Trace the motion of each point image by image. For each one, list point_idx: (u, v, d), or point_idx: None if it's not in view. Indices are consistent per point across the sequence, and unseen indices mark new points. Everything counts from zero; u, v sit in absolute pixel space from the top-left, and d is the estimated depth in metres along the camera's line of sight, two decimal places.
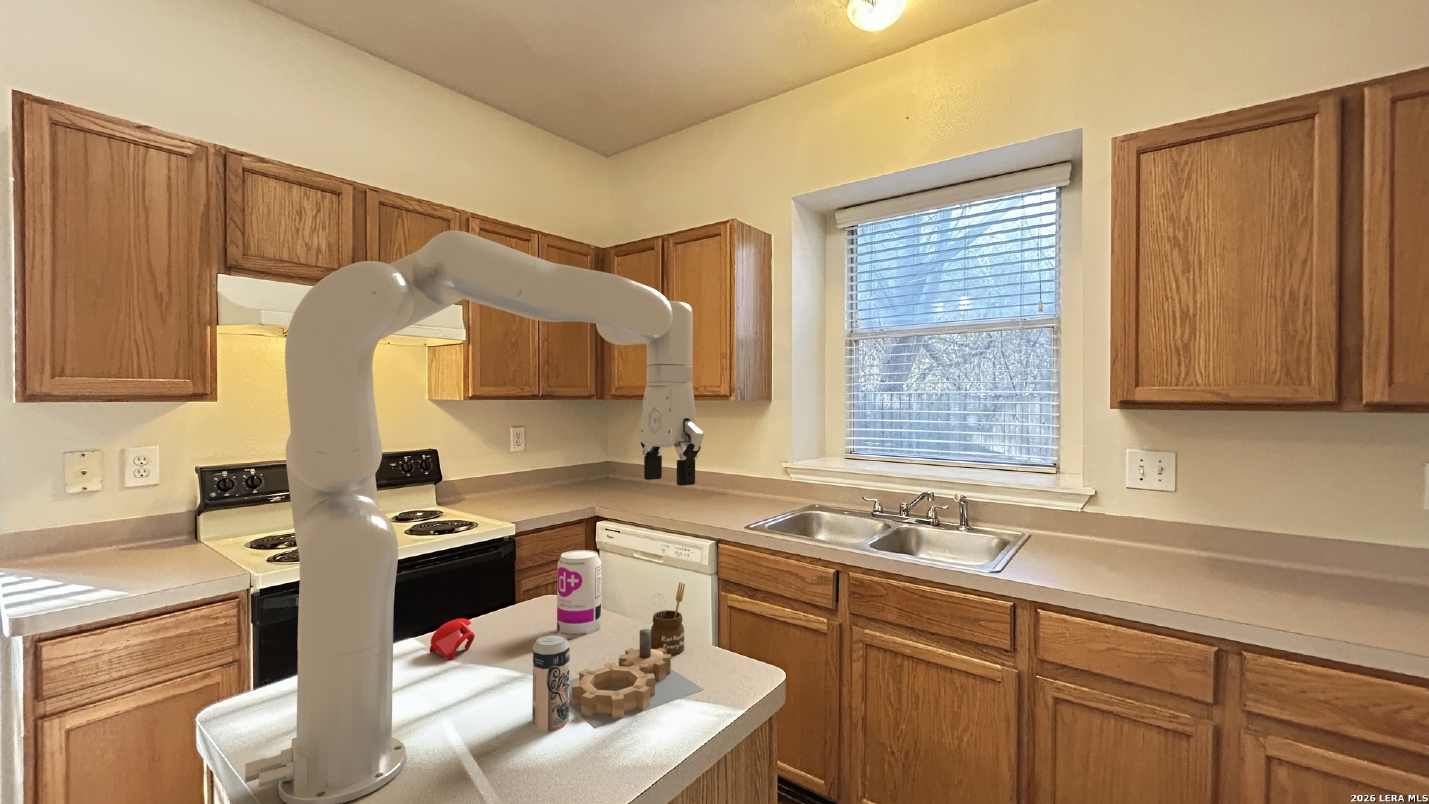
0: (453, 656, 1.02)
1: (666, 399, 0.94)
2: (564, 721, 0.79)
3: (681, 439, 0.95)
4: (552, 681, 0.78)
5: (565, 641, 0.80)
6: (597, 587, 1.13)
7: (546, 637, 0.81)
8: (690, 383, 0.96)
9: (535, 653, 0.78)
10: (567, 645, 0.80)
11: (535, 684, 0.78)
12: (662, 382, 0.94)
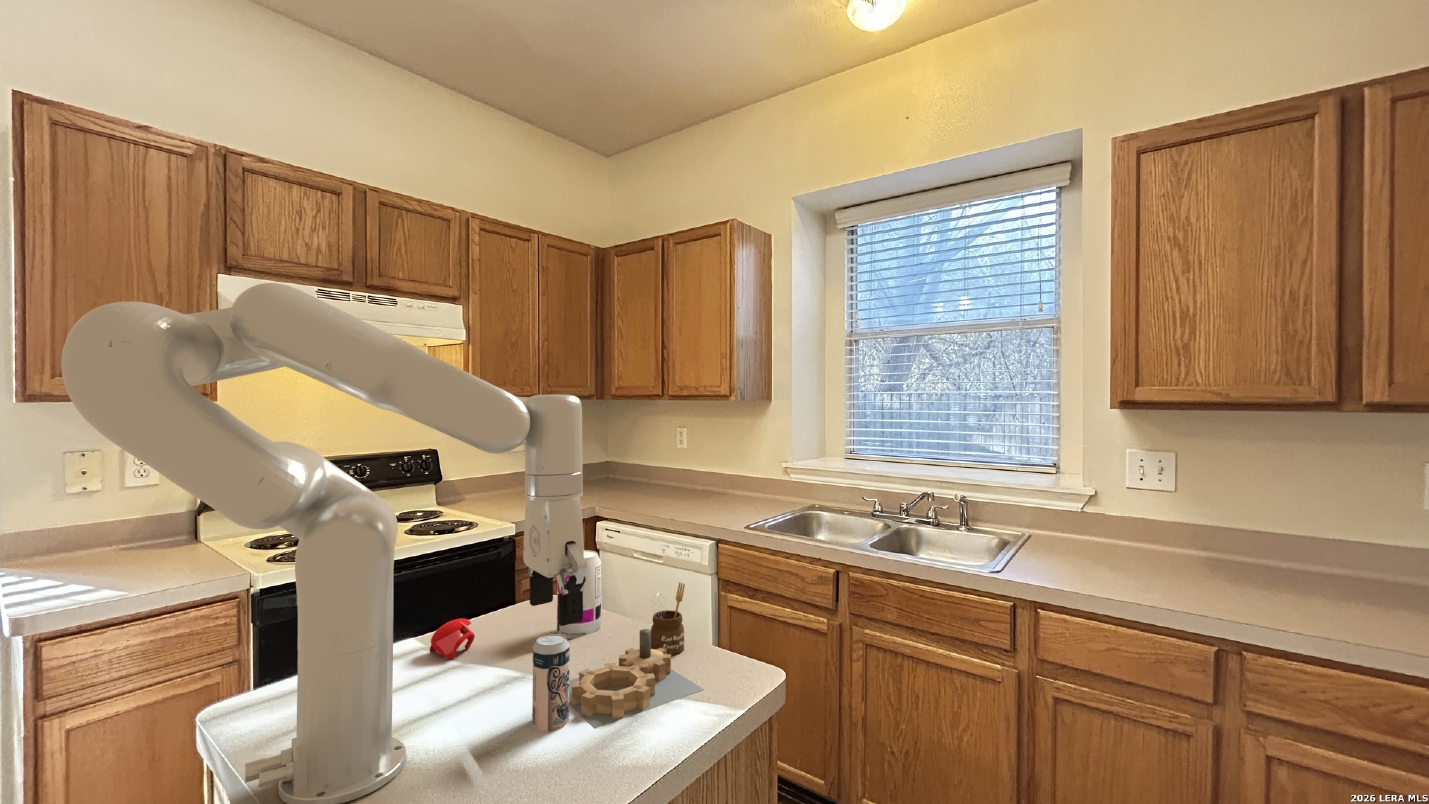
0: (453, 656, 1.02)
1: (544, 518, 0.76)
2: (564, 721, 0.79)
3: (566, 564, 0.78)
4: (552, 681, 0.78)
5: (565, 641, 0.80)
6: (597, 587, 1.13)
7: (546, 637, 0.81)
8: (578, 494, 0.79)
9: (535, 653, 0.78)
10: (567, 645, 0.80)
11: (535, 684, 0.78)
12: (540, 496, 0.77)
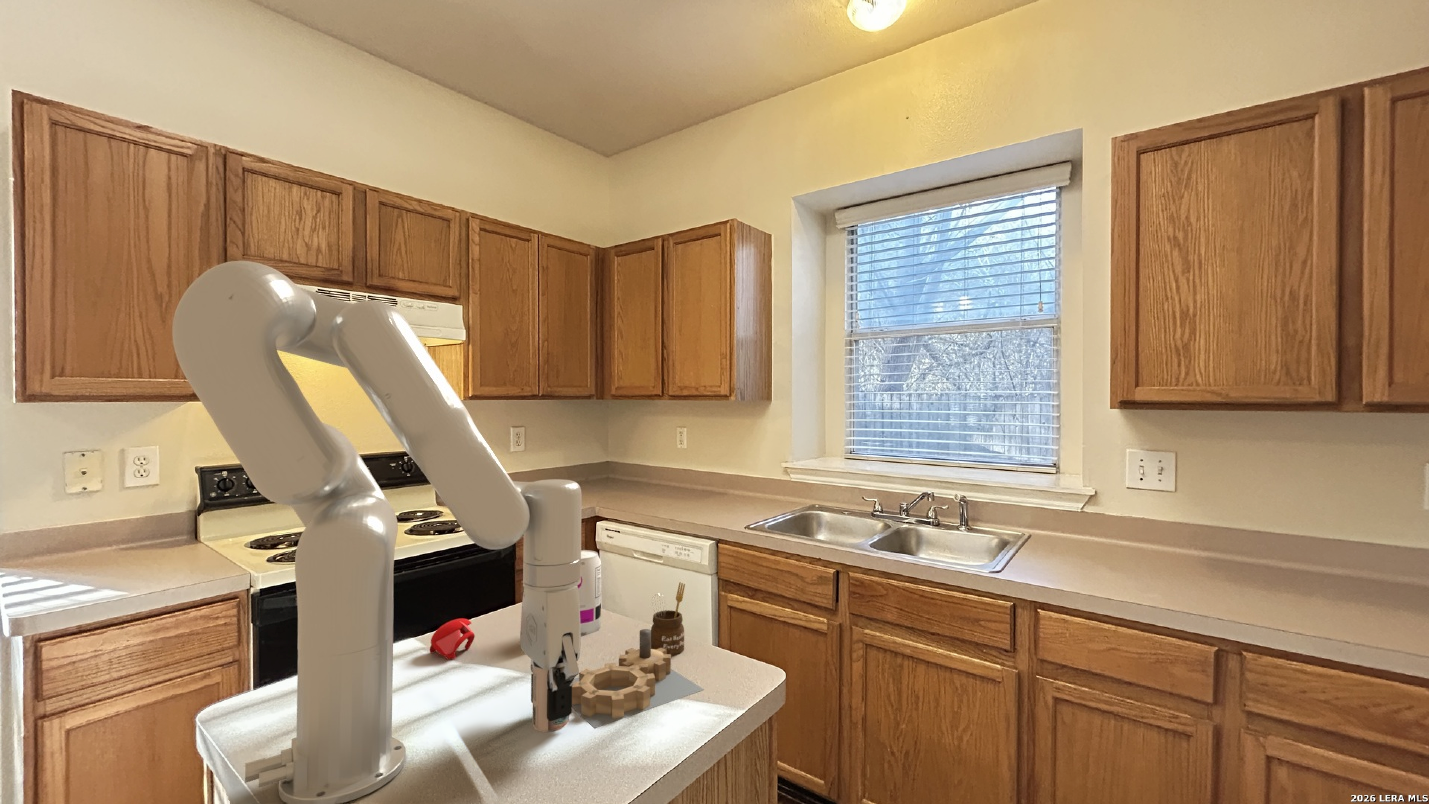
0: (453, 656, 1.02)
1: (542, 609, 0.76)
2: (564, 721, 0.79)
3: None
4: None
5: None
6: (597, 587, 1.13)
7: None
8: (576, 582, 0.79)
9: None
10: None
11: (535, 684, 0.78)
12: (538, 587, 0.76)
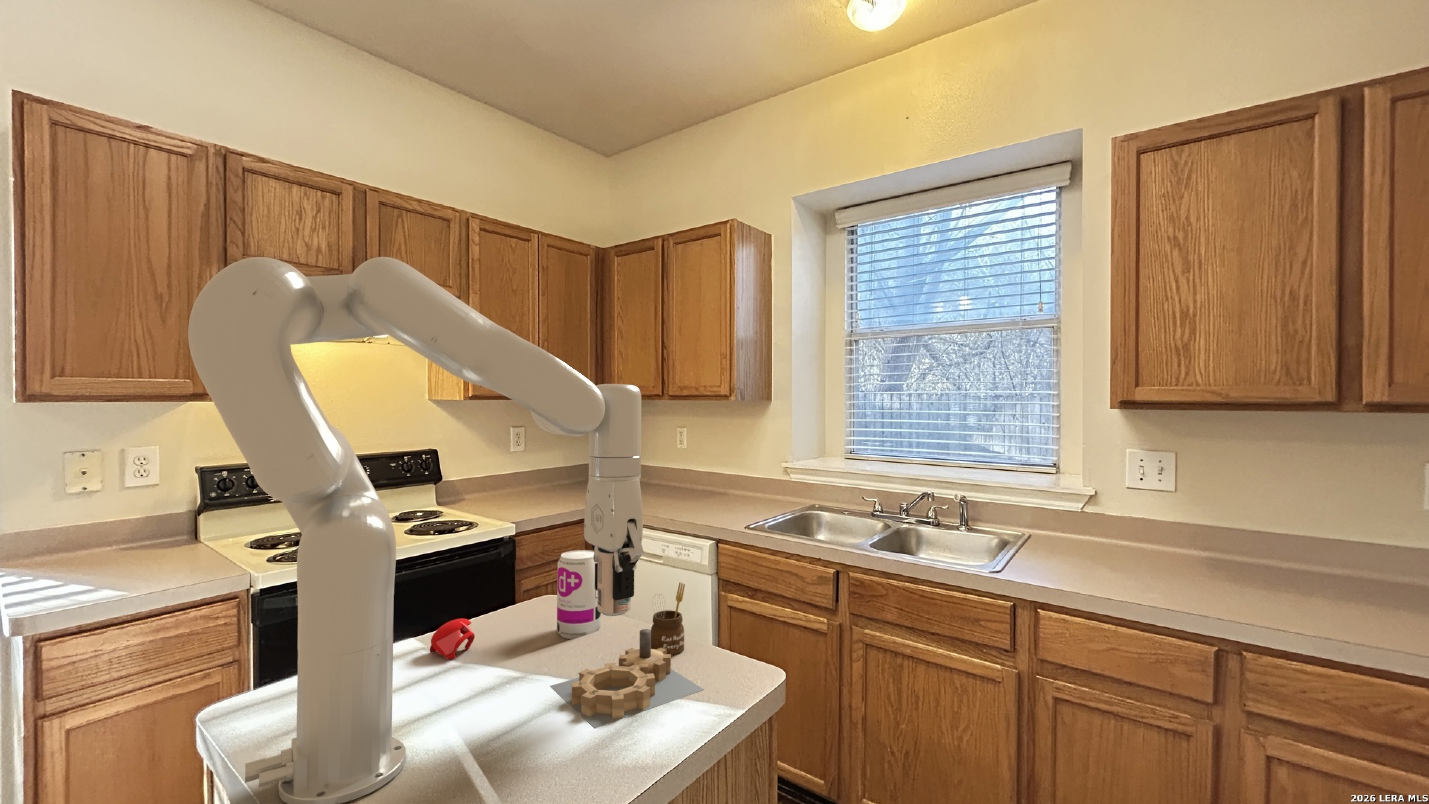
0: (453, 656, 1.02)
1: (608, 497, 0.83)
2: (627, 603, 0.86)
3: (626, 540, 0.84)
4: None
5: None
6: None
7: None
8: (637, 476, 0.86)
9: None
10: None
11: (601, 568, 0.85)
12: (604, 477, 0.83)
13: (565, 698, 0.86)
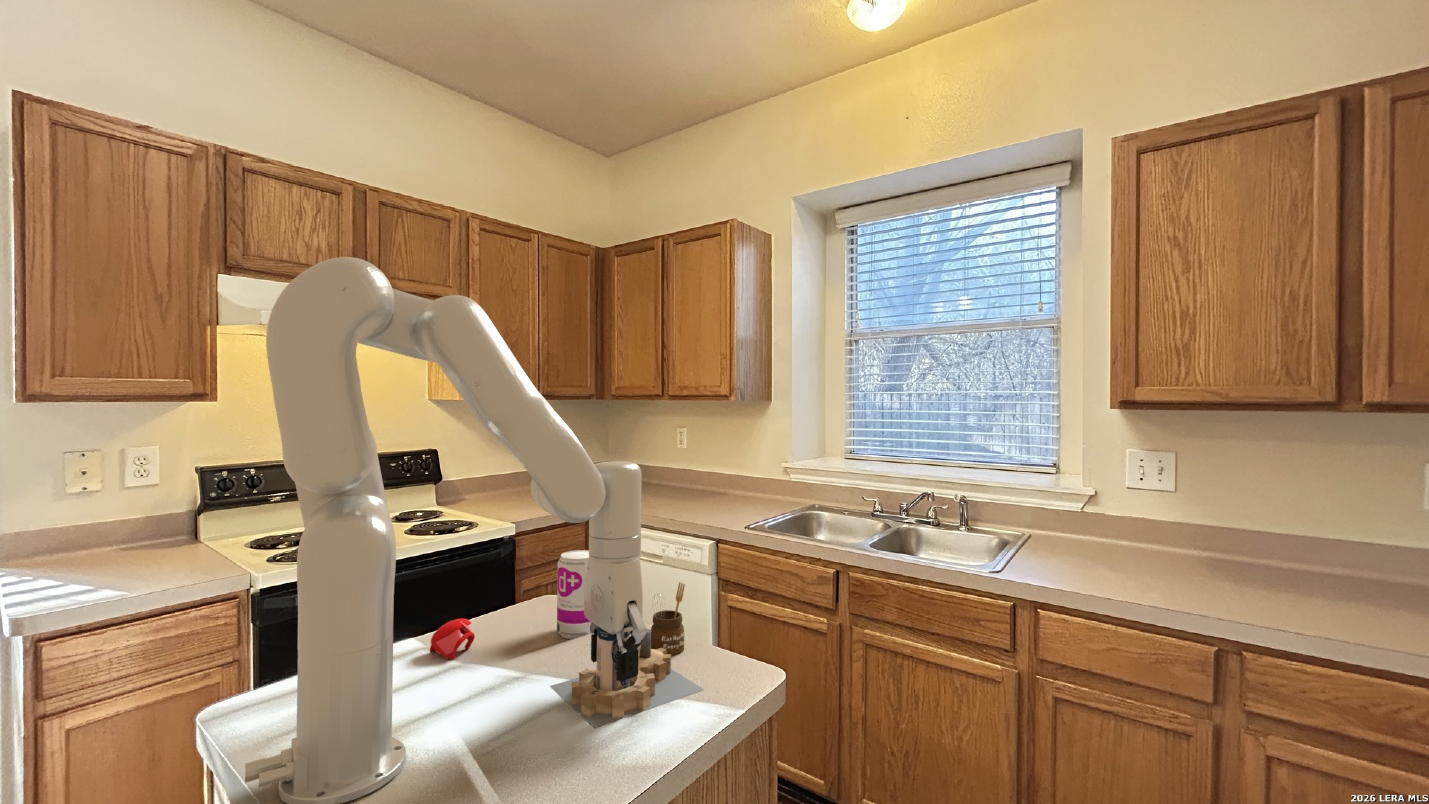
0: (453, 656, 1.02)
1: (608, 579, 0.83)
2: None
3: (626, 621, 0.84)
4: (616, 652, 0.84)
5: None
6: None
7: None
8: (637, 555, 0.86)
9: None
10: None
11: (600, 655, 0.85)
12: (604, 558, 0.83)
13: (565, 698, 0.86)
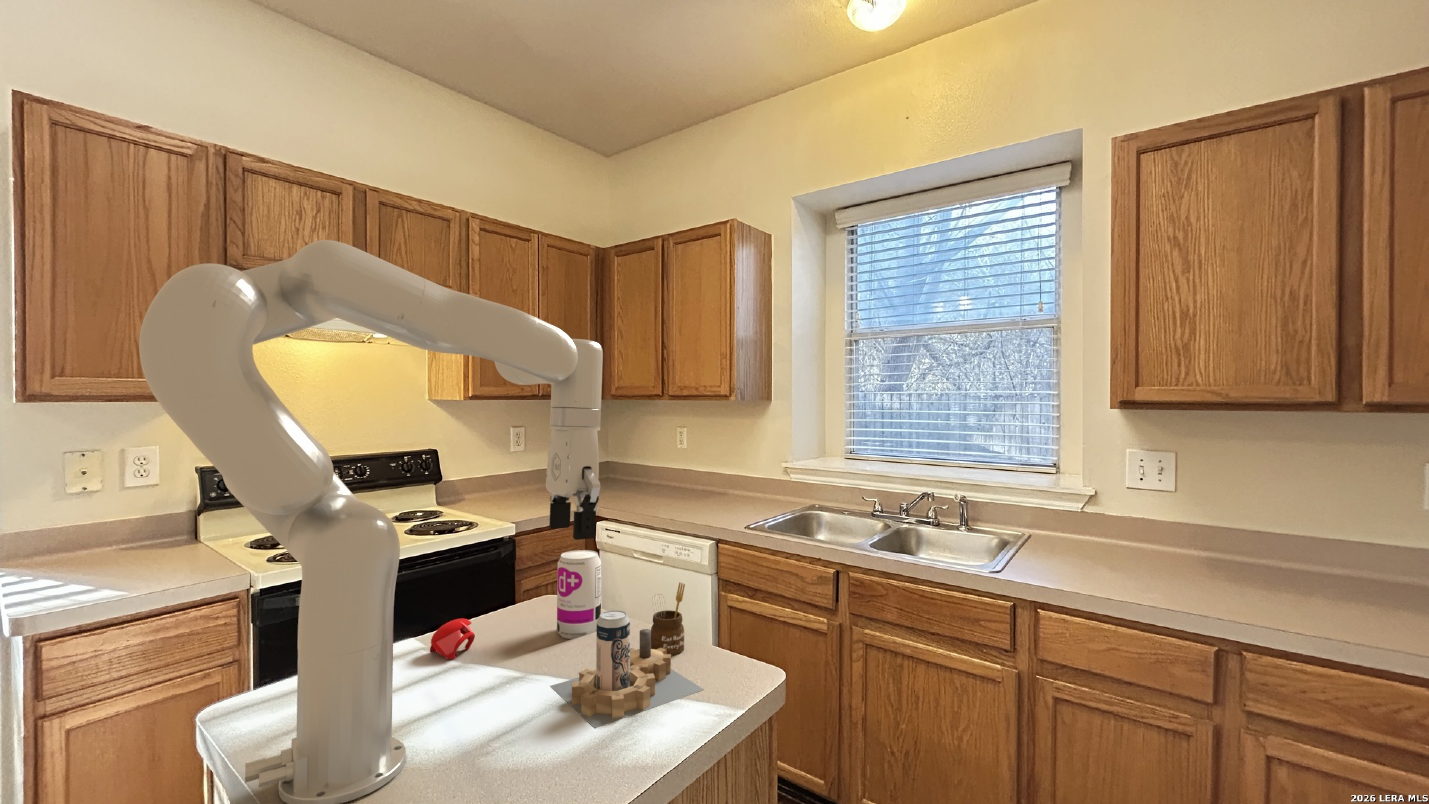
0: (453, 656, 1.02)
1: (565, 445, 0.87)
2: None
3: (582, 488, 0.88)
4: (616, 652, 0.84)
5: (626, 616, 0.86)
6: (597, 587, 1.13)
7: (608, 613, 0.88)
8: (595, 427, 0.90)
9: (599, 627, 0.85)
10: (628, 620, 0.87)
11: (599, 655, 0.85)
12: (563, 426, 0.87)
13: (565, 698, 0.86)
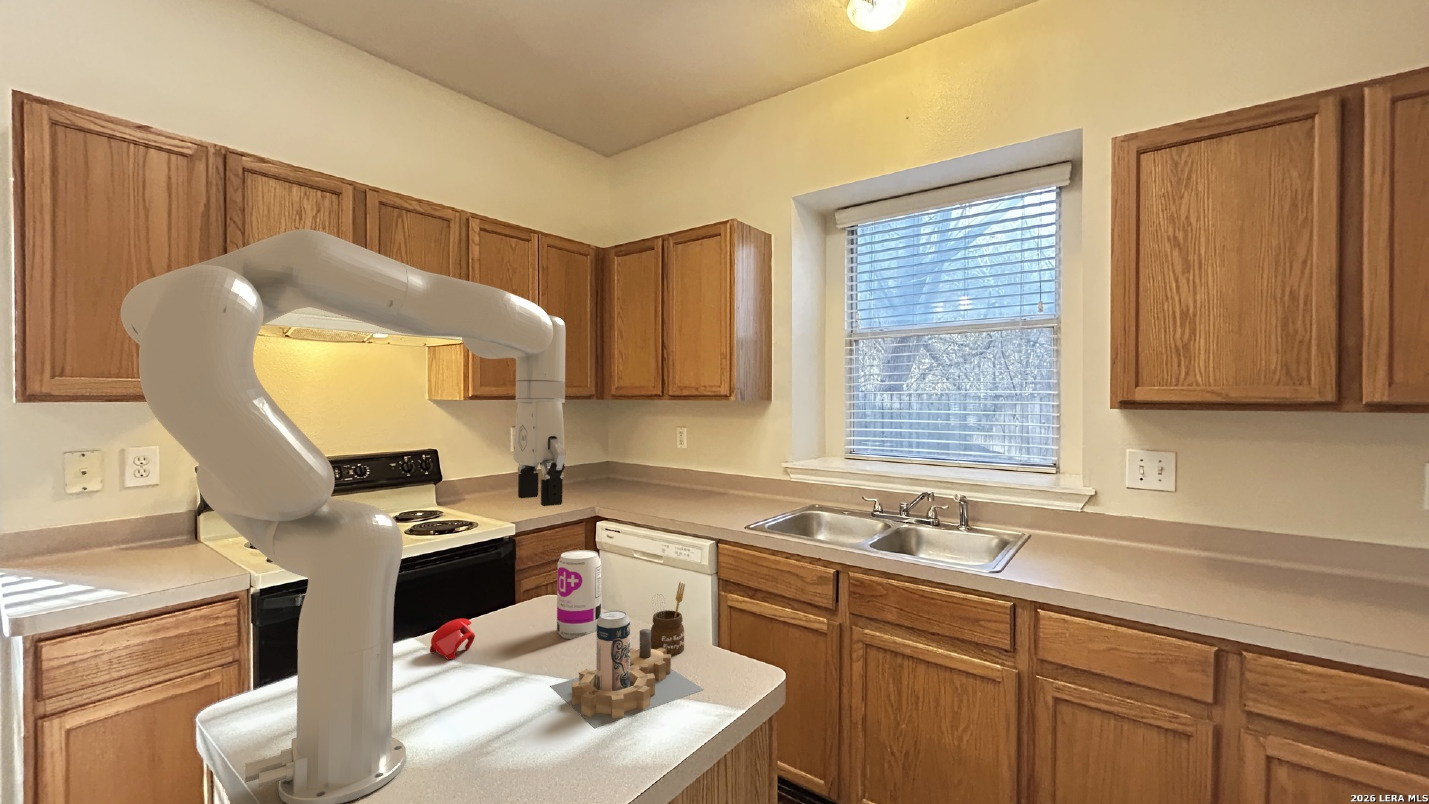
0: (453, 656, 1.02)
1: (531, 416, 0.91)
2: None
3: (549, 457, 0.92)
4: (616, 652, 0.84)
5: (626, 616, 0.86)
6: (597, 587, 1.13)
7: (608, 613, 0.88)
8: (560, 399, 0.93)
9: (599, 627, 0.85)
10: (628, 620, 0.87)
11: (600, 655, 0.85)
12: (528, 398, 0.91)
13: (565, 698, 0.86)
